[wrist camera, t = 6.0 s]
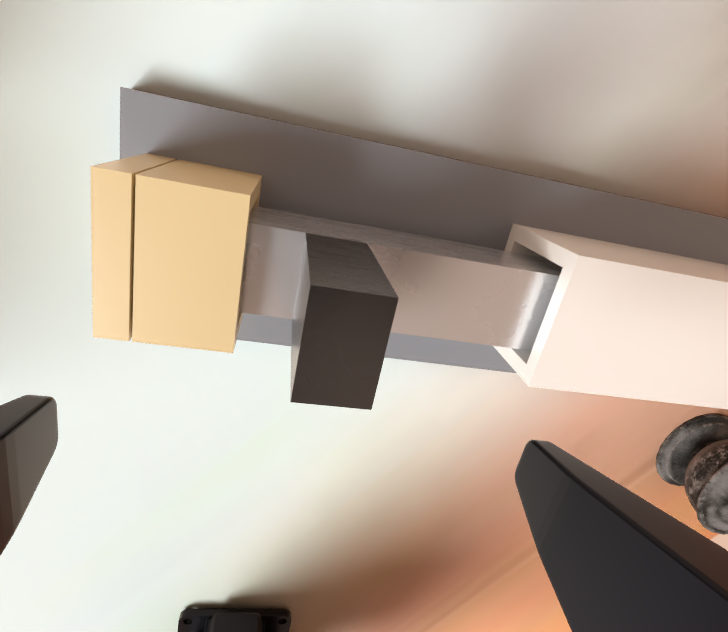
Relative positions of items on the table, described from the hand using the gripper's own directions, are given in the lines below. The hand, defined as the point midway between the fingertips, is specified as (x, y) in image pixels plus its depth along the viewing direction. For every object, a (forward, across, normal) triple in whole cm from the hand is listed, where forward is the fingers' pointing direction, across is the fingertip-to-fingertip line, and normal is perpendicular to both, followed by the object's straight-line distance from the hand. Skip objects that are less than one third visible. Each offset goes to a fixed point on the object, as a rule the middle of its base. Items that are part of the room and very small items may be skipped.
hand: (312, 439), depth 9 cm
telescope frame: (+12, -6, -1) cm, 14 cm away
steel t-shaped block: (+10, -3, -1) cm, 11 cm away
